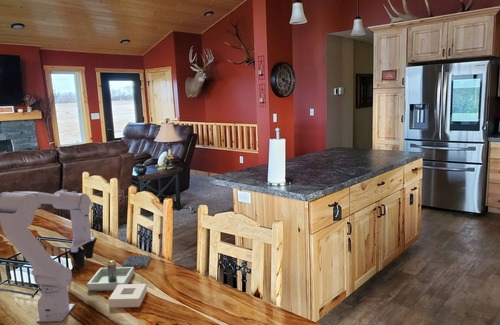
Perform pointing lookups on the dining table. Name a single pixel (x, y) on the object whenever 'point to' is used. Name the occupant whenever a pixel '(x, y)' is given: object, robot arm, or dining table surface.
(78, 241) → the robot arm
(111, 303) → the block
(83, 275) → the dining table surface
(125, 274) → the tray
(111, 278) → the steel pin
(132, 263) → the woven mat
